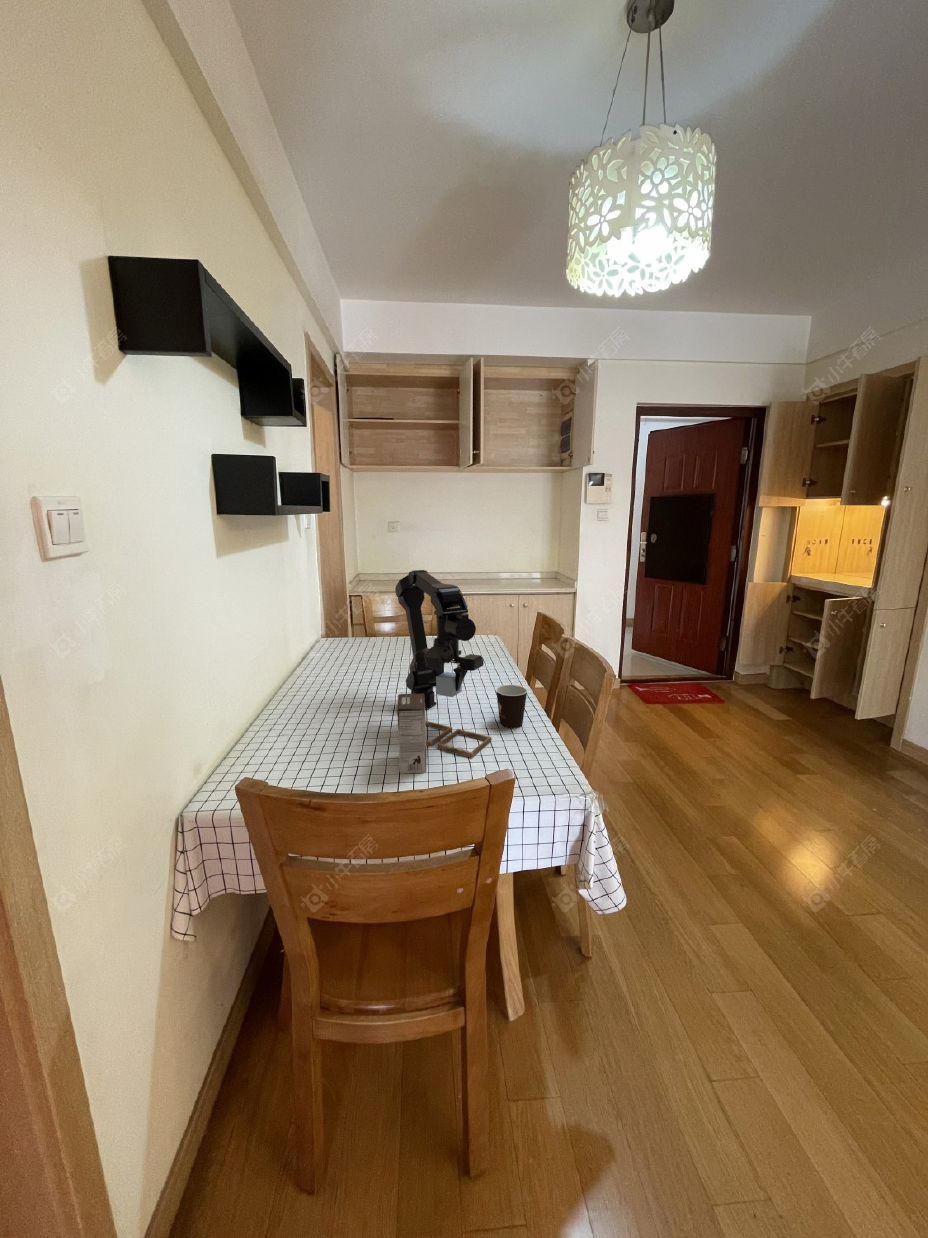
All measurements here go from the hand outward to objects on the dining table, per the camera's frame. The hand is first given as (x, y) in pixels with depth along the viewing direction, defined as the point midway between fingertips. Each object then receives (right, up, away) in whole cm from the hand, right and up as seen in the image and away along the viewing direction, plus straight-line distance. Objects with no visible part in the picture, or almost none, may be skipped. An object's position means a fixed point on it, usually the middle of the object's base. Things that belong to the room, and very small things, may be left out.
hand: (449, 689), depth 131 cm
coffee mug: (+18, -10, +7) cm, 22 cm away
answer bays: (-1, -13, -4) cm, 13 cm away
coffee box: (-8, -16, -16) cm, 24 cm away
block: (0, -1, 0) cm, 1 cm away
